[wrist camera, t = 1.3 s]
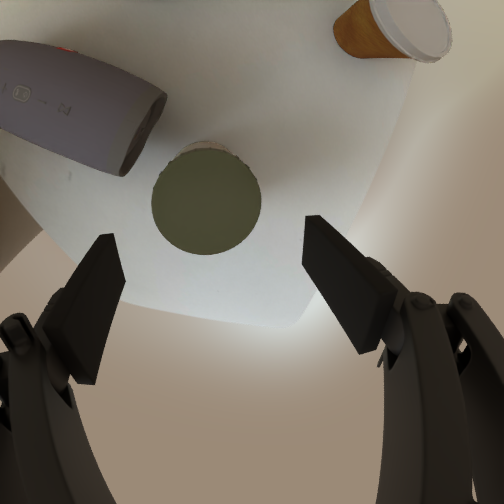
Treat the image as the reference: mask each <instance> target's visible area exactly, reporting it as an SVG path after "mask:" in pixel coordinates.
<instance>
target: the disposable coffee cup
mask: <svg viewBox="0 0 504 504" xmlns="http://www.w3.org/2000/svg"><path fill="white" fill-rule="evenodd" d="M333 30H334V36H335V39H336V41H337V43H338V44H339V45H340V47H341V48H342V49H343V50H344V51H345V52H347V53H348V54H350V55H351V56H354V57H356V58H410V59H415V60H417V61H420V62H424V63H433V62H436V61H438V60H440V59H441V58H442V57H443V56H445V55H446V54H447V53H448V52H449V51H450V48H451V46H452V31H451V27H450V23H449V21H448V18H447V16H446V14H445V12H444V10H443V8H442V7H441V5H440V4H439V3H438V1H437V0H358V1H357V2H356V3H355V4H354V5H352V6H351V7H350V8H349V9H348V10H347V11H346V12H345V13H343V15H341V16H340V17H339V18H338V19H337V20H336V21H335V24H334V27H333Z"/></svg>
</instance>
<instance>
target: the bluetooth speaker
mask: <svg viewBox="0 0 504 504" xmlns="http://www.w3.org/2000/svg"><path fill="white" fill-rule="evenodd" d="M166 101H167V93H165V92H164V91H162V90H160V89H159V88H157V87H156V86H154V85H152V84H150V83H149V82H147V81H145V80H143V79H141V78H139V77H137V76H135V75H133V74H130V73H128V72H126V71H124V70H122V69H119V68H117V67H115V66H112V65H110V64H107V63H105V62H102V61H99V60H97V59H94V58H91V57H88V56H86V55H83V54H80V53H78V52H76V51H74V50H71V49H67V48H61V47H54V46H50V45H45V44H40V43H34V42H26V41H18V40H0V128H2V129H4V130H6V131H8V132H10V133H12V134H14V135H16V136H18V137H20V138H22V139H25V140H27V141H29V142H31V143H34V144H36V145H38V146H40V147H43V148H45V149H47V150H50V151H52V152H55V153H57V154H59V155H62V156H64V157H67V158H69V159H72V160H74V161H77V162H79V163H82V164H84V165H87V166H89V167H92V168H94V169H97V170H99V171H103V172H106V173H109V174H112V175H116V176H120V177H123V176H125V175H126V174H127V173H128V172H129V171H130V169H131V168H132V166H133V165H134V163H135V162H136V160H137V159H138V157H139V155H140V154H141V152H142V150H143V148H144V146H145V143H146V140H147V138H148V136H149V134H150V132H151V130H152V128H153V127H154V125H155V124H156V122H157V121H158V119H159V117H160V115H161V113H162V111H163V109H164V106H165V104H166Z"/></svg>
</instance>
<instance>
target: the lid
mask: <svg viewBox="0 0 504 504" xmlns="http://www.w3.org/2000/svg"><path fill="white" fill-rule="evenodd" d="M151 206H152V214H153V218H154V221H155V224H156V226H157V227H158V229H159V231H160V232H161V234H162V235H163V236H164V237H165V238H166V239H167V240H168V241H169V242H170V243H171V244H172V245H174V246H175V247H177V248H179V249H181V250H183V251H186V252H189V253H192V254H198V255H212V254H218V253H221V252H225V251H227V250H229V249H231V248H233V247H235V246H237V245H238V244H239V243H241V242H242V241H243V240H244V239H245V238H246V237H247V236H248V235H249V234H250V233H251V231H252V230H253V228H254V227H255V224H256V222H257V220H258V217H259V214H260V209H261V193H260V188H259V185H258V183H257V179H256V178H255V176H254V175H253V173H252V172H251V170H250V169H249V167H248V166H247V165H245V164H244V163H243V162H242V161H241V160H240V159H239V157H238V156H234V155H233V154H231V153H229V152H227V151H225V149H223V150H221V149H217V148H211V147H209V148H195V149H193V150H189V151H187V152H185V153H183V152H182V153H181V155H179V156H178V157H176V158H175V159H174V160H172V161H170V162H169V163H168V165H167V166H166V168H165V169H164V170H163V171H161V173H160V174H159V178H158V180H157V182H156V184H155V186H154V187H153V194H152V201H151Z"/></svg>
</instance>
